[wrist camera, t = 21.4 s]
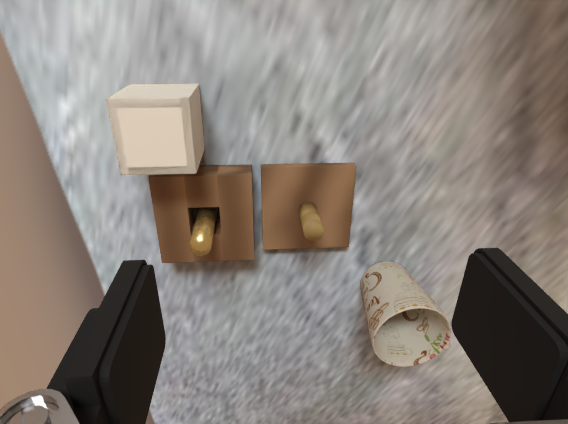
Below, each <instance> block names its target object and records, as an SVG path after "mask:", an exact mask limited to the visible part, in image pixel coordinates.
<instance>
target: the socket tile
mask: <svg viewBox="0 0 568 424" xmlns="http://www.w3.org/2000/svg"><path fill="white" fill-rule="evenodd" d="M149 184H150V190H151V196H152V202H153V209H154V215H155V221H156V228H157V234H158V240H159V246H160V253H161V259H162V263H174V262H202V261H231V260H254V224H253V192H252V165H208V166H199V167H198V170H197V173H196V174H154V175H150V176H149ZM196 207H219V209H220V221H216V222H215V228H214V234H213V240H212V246H211V250H210V252H209V253H208V254H207V255H204V256H197V255H195V254H193V253H192V252H191V251H190V248H189V244H190V241H191V237H192V233H193V229H194V225H195V222H196V221H194V213H193V208H196Z"/></svg>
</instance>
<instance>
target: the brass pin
mask: <svg viewBox="0 0 568 424" xmlns="http://www.w3.org/2000/svg"><path fill="white" fill-rule="evenodd" d="M217 210H218V207H199V210H198V214H197V218H196V222H195V225H194V229H193V233H192V237H191V241H190V244H189V248H190V251H191V252H192V253H193V254H195V255H197V256H204V255H207V254H208V253H209V252H210V250H211V246H212V240H213V234H214V228H215V222H216V216H217Z"/></svg>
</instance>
